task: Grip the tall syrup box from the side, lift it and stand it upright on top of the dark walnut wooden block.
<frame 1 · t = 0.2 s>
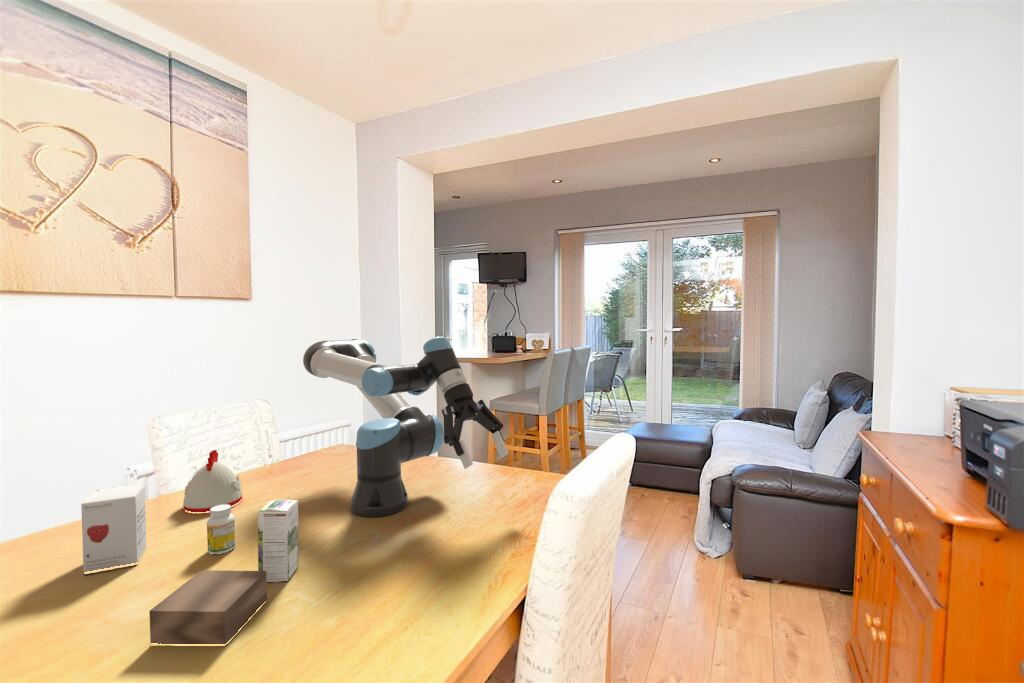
hand: (487, 460, 121), 15 cm above the table, tool tilted 35°, fingers open, 13 cm apart
supplement bottle: (221, 550, 105), on the table
kitchen timer: (213, 505, 132), on the table
supplement box: (116, 562, 100), on the table
walnut block: (213, 623, 80), on the table
syrup box: (279, 576, 95), on the table
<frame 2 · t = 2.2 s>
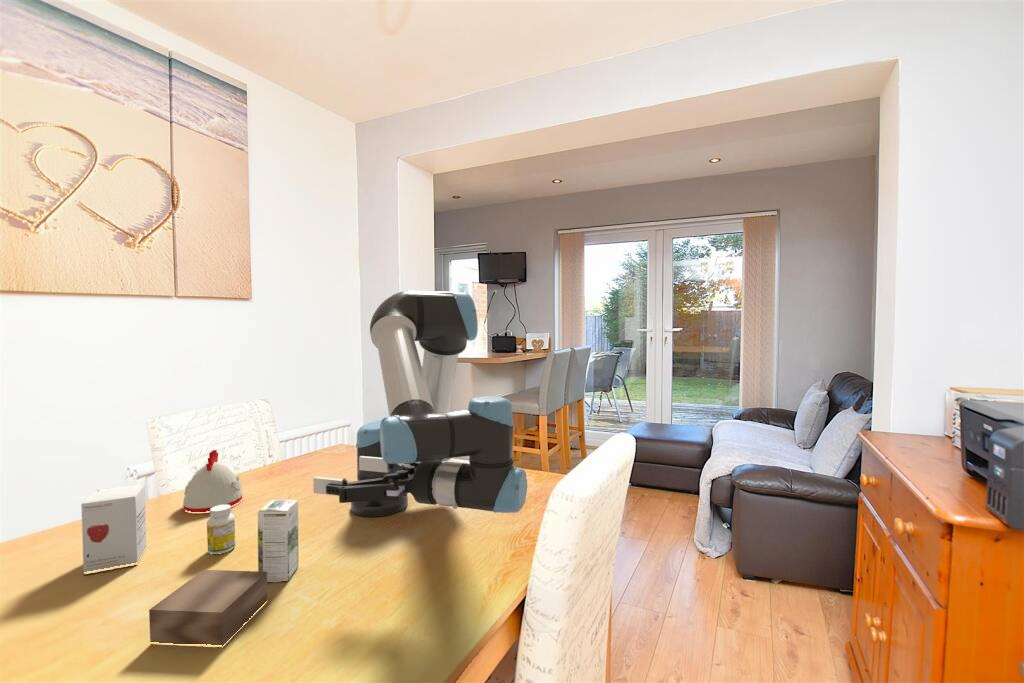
hand: (339, 473, 90), 22 cm above the table, tool horizontal, fingers open, 13 cm apart
nothing on the table moved.
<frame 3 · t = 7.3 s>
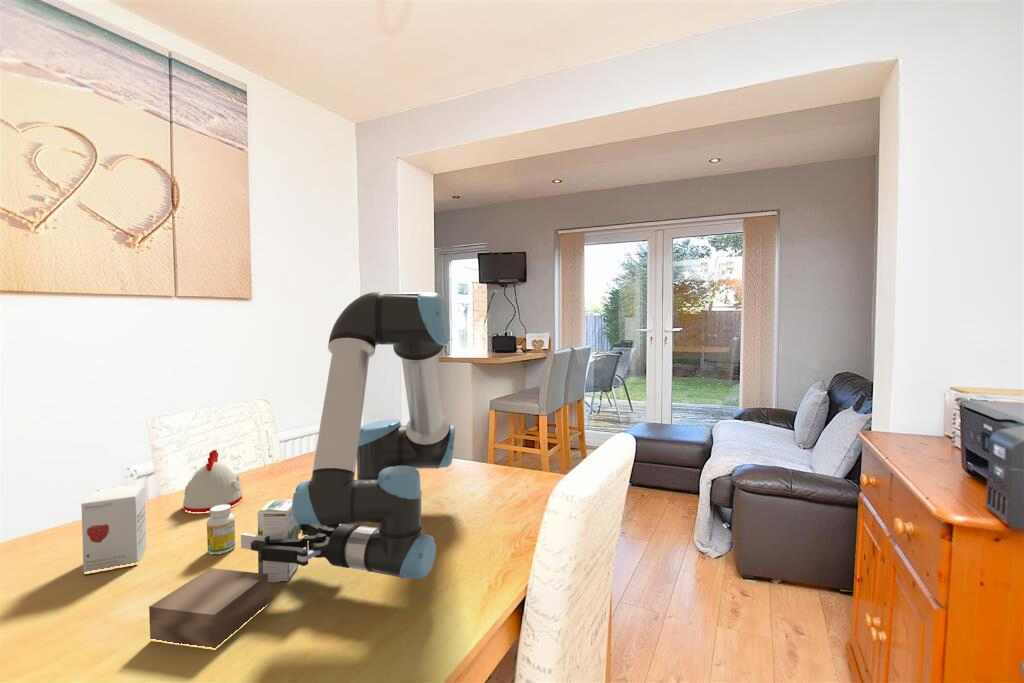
hand: (258, 531, 96), 8 cm above the table, tool horizontal, fingers closed on syrup box, 7 cm apart
syrup box: (279, 576, 95), on the table, touching gripper
when the fingers open (16 cm above the table, at t = 12.0 s): syrup box drops 1 cm, resting on walnut block.
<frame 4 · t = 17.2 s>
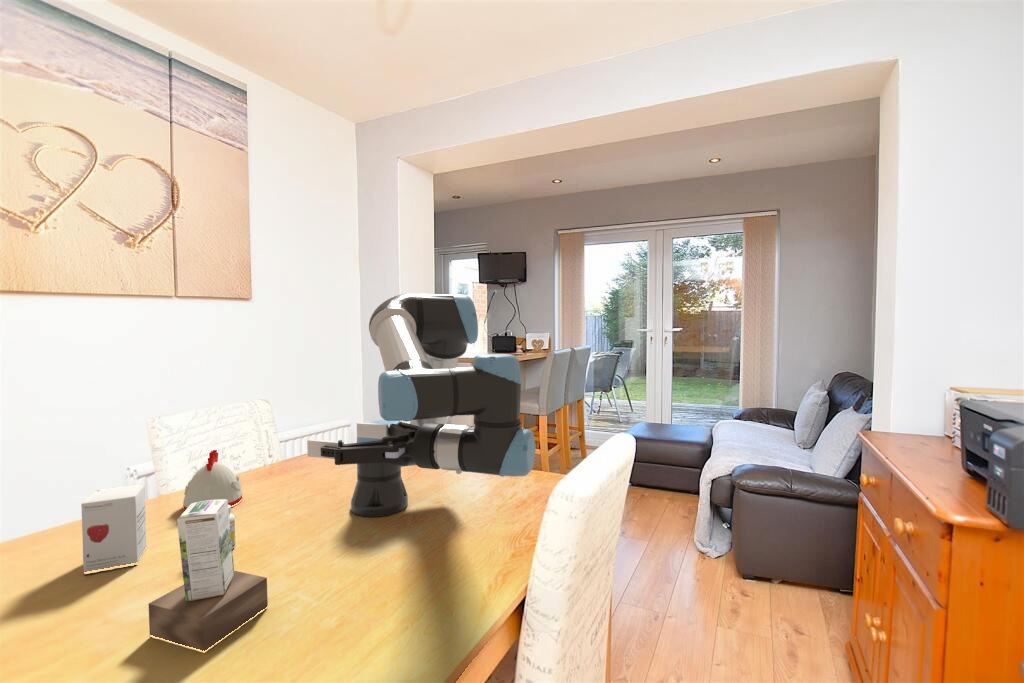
hand: (335, 438, 85), 30 cm above the table, tool horizontal, fingers open, 13 cm apart
walnut block: (211, 624, 80), on the table, touching syrup box
syrup box: (212, 589, 80), point 6 cm above the table, touching walnut block
everything else where it was.
at the end: syrup box inside the target area on the walnut block (0.2 cm from its centre), point 6.0 cm above the walnut block's base; syrup box tilted 4°; the gripper is holding nothing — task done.
